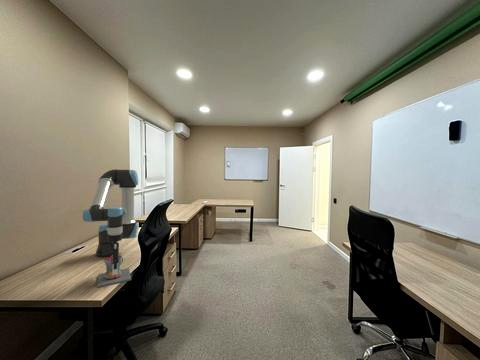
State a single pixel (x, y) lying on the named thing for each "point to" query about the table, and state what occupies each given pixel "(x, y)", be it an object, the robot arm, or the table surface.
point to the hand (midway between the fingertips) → (114, 269)
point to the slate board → (122, 278)
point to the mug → (109, 267)
